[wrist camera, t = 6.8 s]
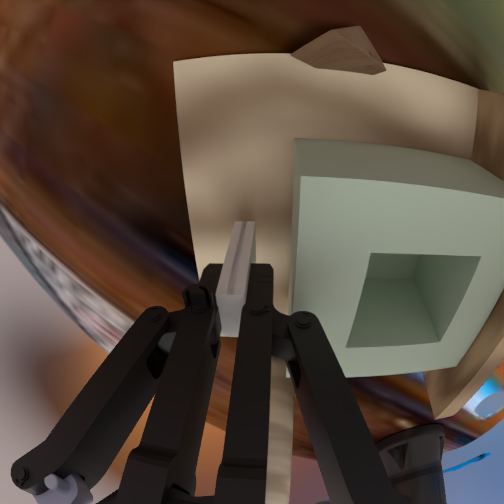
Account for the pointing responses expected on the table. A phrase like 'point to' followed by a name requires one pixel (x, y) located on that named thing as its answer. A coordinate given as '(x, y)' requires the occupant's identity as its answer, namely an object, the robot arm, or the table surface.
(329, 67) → the wooden block set
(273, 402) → the dowel
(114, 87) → the table surface
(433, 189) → the sliding block
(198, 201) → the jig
